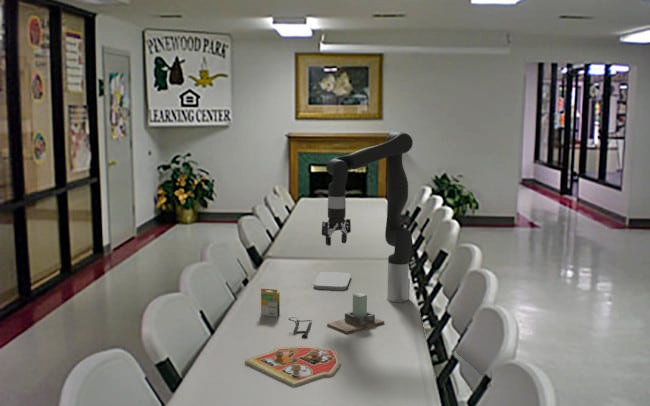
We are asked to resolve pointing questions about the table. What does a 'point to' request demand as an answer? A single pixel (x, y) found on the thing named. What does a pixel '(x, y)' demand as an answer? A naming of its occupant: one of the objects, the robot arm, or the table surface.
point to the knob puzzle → (297, 364)
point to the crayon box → (270, 303)
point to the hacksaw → (301, 331)
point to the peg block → (359, 305)
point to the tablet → (332, 281)
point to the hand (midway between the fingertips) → (336, 244)
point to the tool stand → (355, 323)
